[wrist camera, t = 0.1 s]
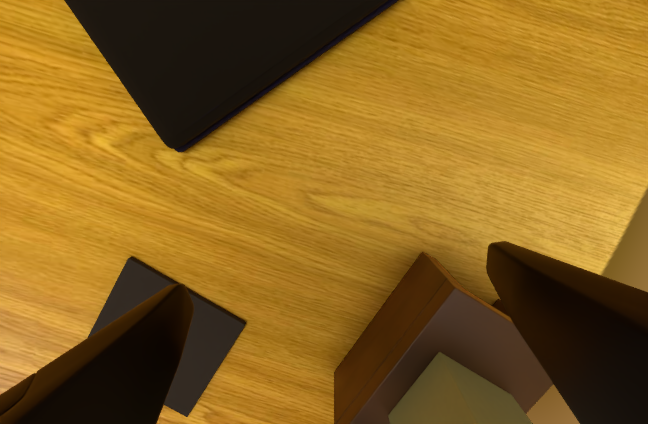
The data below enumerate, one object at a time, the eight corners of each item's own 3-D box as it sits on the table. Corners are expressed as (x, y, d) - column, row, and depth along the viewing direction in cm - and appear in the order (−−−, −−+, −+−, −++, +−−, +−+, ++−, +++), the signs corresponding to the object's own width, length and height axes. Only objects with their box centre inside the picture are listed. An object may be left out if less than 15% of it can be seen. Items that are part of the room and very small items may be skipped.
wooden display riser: (416, 419, 24) (443, 505, 18) (333, 372, 24) (333, 444, 18) (511, 306, 22) (575, 361, 16) (422, 250, 22) (455, 287, 16)
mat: (189, 413, 25) (187, 417, 25) (81, 354, 24) (77, 358, 24) (246, 322, 23) (245, 325, 23) (131, 256, 22) (128, 257, 22)
